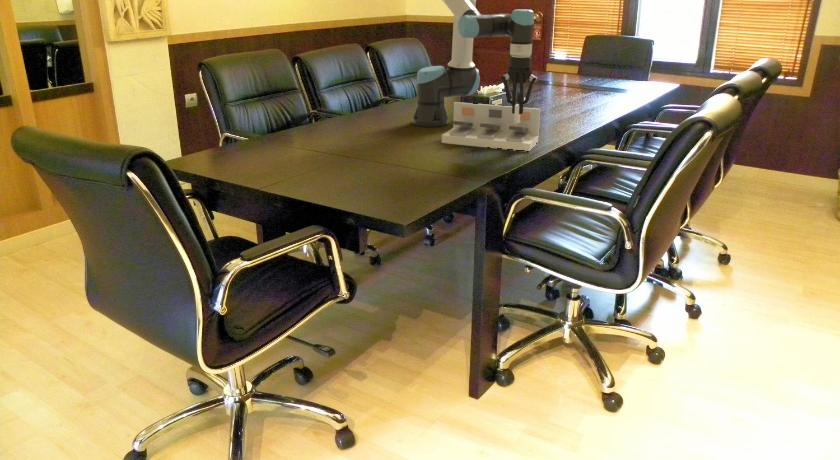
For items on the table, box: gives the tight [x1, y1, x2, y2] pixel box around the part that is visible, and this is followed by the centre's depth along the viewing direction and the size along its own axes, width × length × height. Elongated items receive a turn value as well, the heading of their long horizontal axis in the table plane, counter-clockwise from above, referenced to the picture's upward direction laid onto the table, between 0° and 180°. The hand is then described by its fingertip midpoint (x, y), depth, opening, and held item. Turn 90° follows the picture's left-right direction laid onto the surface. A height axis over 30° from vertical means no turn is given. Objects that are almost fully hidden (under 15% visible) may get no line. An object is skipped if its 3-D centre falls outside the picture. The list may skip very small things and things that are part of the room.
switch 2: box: [480, 123, 500, 129], centre depth 242 cm, size 5×10×1 cm, turn 158°
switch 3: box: [509, 126, 528, 132], centre depth 238 cm, size 5×10×1 cm, turn 158°
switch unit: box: [441, 101, 541, 152], centre depth 242 cm, size 34×14×13 cm, turn 68°
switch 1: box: [451, 120, 473, 126], centre depth 246 cm, size 5×10×1 cm, turn 158°
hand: (516, 122), depth 234 cm, fingers closed
